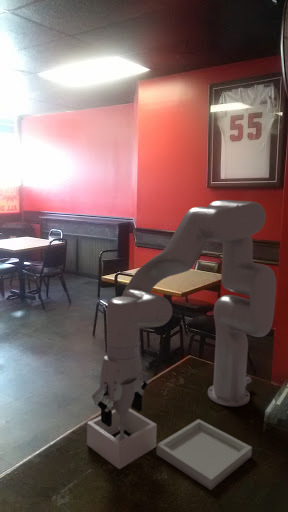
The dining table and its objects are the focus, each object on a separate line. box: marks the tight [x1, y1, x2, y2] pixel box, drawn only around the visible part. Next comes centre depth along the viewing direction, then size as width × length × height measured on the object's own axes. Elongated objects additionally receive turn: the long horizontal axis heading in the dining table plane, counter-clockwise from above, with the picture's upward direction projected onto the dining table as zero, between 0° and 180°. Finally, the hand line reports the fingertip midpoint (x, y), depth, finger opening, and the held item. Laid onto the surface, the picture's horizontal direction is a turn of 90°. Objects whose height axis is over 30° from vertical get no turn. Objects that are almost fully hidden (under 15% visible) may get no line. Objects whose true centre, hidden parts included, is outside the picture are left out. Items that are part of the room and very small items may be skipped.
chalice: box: [112, 378, 137, 441], centre depth 99 cm, size 7×7×18 cm
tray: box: [155, 418, 253, 491], centre depth 97 cm, size 16×16×2 cm
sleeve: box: [86, 408, 158, 470], centre depth 100 cm, size 12×12×6 cm
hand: (121, 416), depth 99 cm, fingers open, 9 cm apart
